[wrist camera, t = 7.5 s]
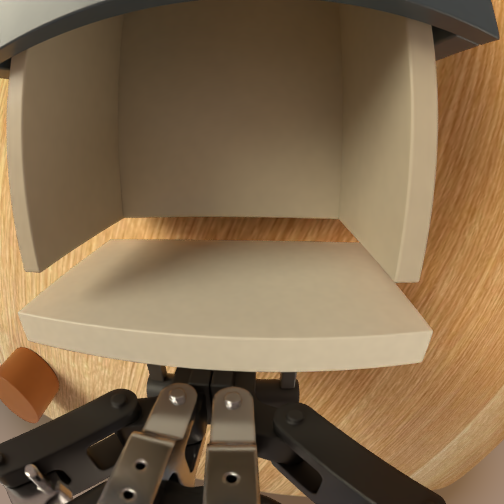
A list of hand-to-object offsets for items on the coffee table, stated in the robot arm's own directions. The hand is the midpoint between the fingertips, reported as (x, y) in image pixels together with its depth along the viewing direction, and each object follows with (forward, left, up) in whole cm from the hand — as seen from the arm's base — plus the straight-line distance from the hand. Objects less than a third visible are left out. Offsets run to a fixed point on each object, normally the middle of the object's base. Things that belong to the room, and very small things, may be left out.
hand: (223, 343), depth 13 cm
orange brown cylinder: (-19, -10, -4) cm, 22 cm away
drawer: (0, +7, -4) cm, 8 cm away
